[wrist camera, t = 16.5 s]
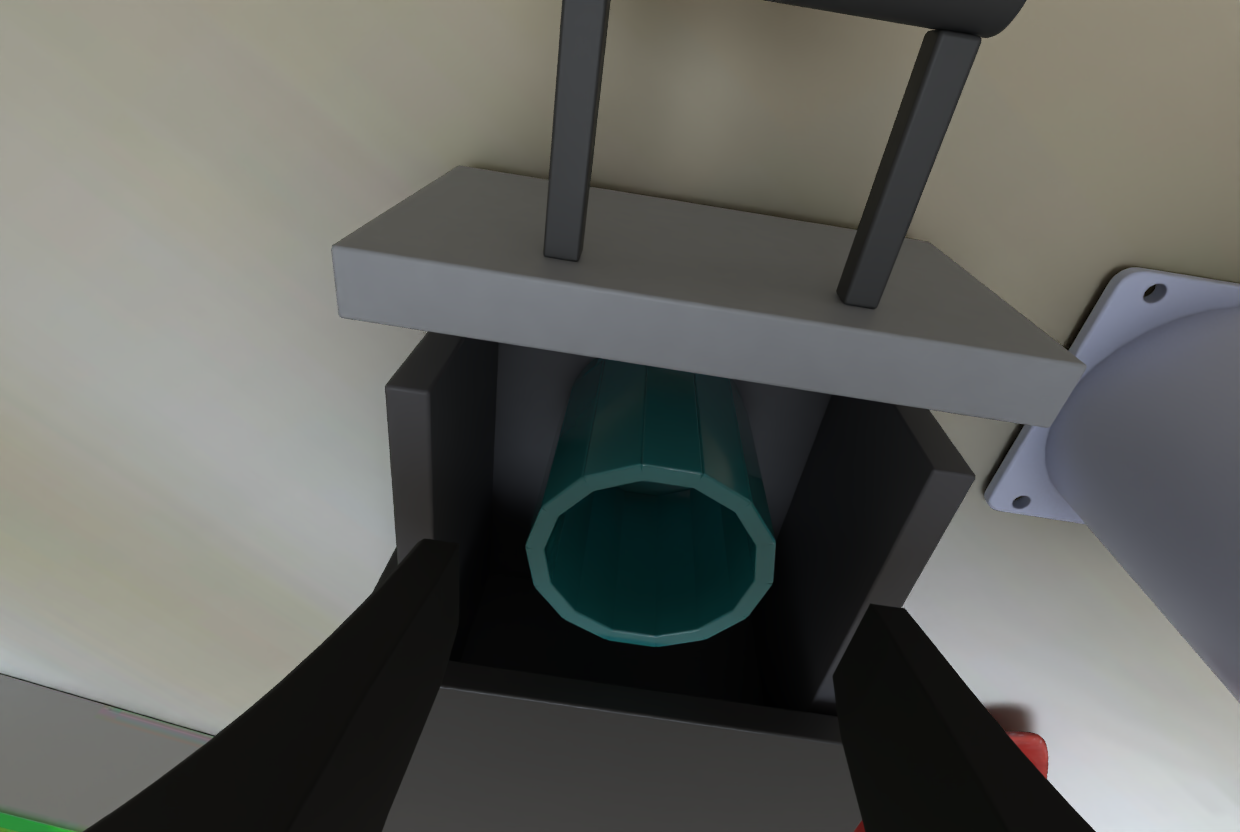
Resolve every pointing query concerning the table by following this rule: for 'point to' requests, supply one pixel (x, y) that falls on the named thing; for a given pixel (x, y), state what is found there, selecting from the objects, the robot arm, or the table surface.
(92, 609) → the table surface
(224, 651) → the table surface
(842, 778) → the dark grey storage box
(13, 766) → the tray
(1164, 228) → the table surface
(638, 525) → the container
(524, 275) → the drawer
